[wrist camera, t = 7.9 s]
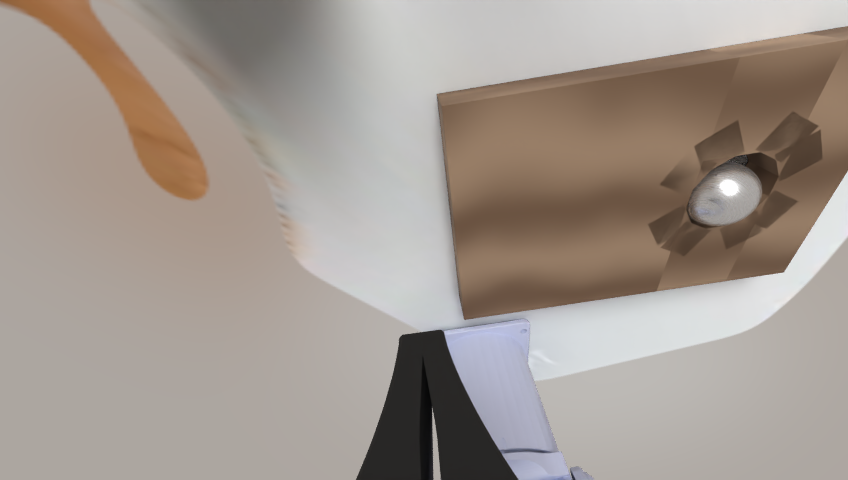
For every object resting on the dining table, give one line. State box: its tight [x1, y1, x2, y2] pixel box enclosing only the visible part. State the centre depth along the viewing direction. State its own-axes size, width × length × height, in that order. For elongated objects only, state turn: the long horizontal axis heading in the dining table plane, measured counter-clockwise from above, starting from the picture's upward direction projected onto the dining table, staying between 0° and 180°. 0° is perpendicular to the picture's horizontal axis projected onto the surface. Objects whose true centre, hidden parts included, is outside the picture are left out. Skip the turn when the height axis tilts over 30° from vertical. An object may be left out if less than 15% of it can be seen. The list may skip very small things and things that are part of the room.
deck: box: [437, 26, 848, 320], centre depth 20 cm, size 14×21×2 cm, turn 98°
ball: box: [686, 161, 762, 226], centre depth 19 cm, size 4×4×4 cm
